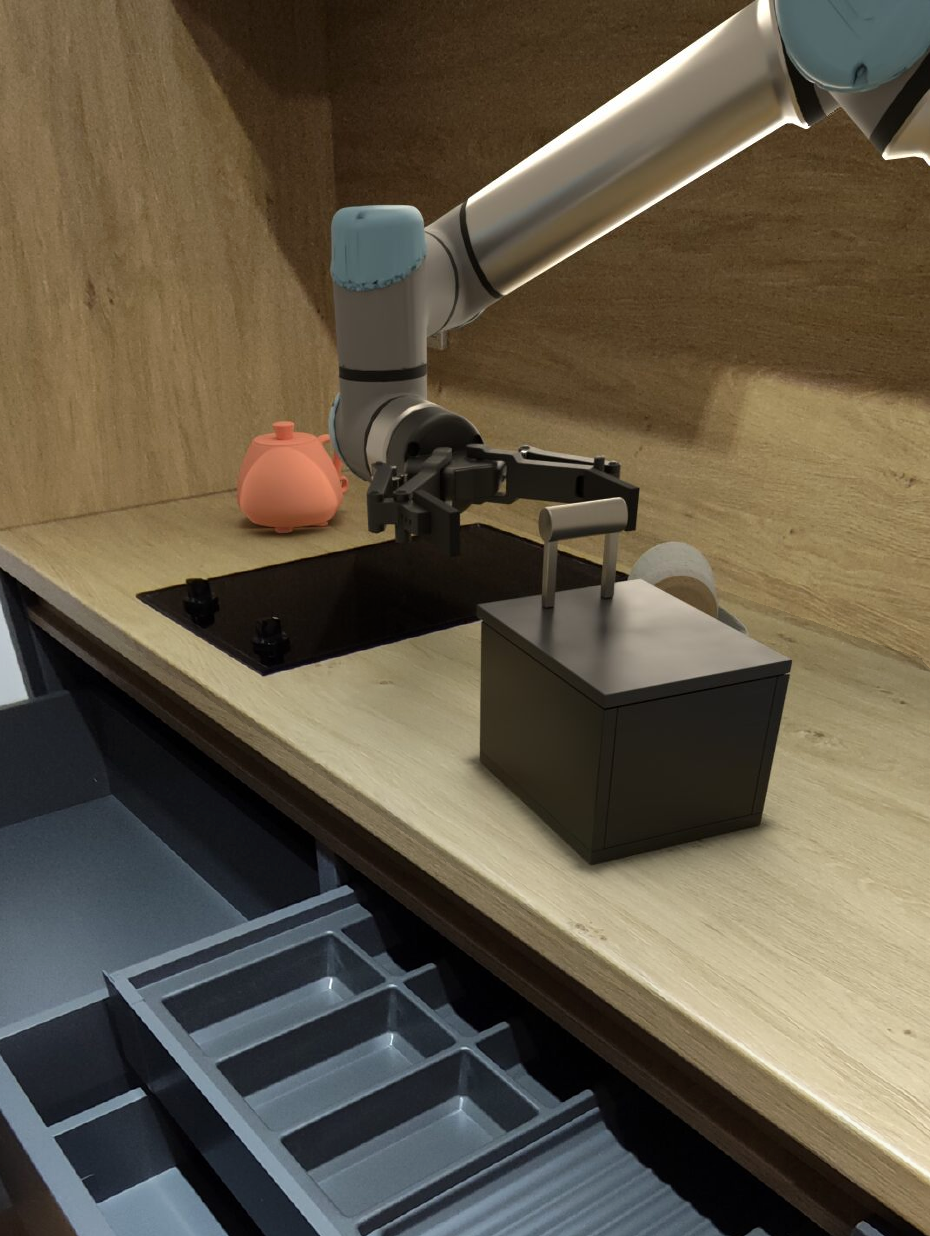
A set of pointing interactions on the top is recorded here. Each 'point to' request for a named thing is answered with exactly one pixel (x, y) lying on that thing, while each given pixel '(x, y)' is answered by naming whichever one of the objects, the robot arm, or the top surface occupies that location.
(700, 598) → the ceramic mug
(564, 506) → the bin lid
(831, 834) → the top surface
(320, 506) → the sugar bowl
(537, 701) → the bin
